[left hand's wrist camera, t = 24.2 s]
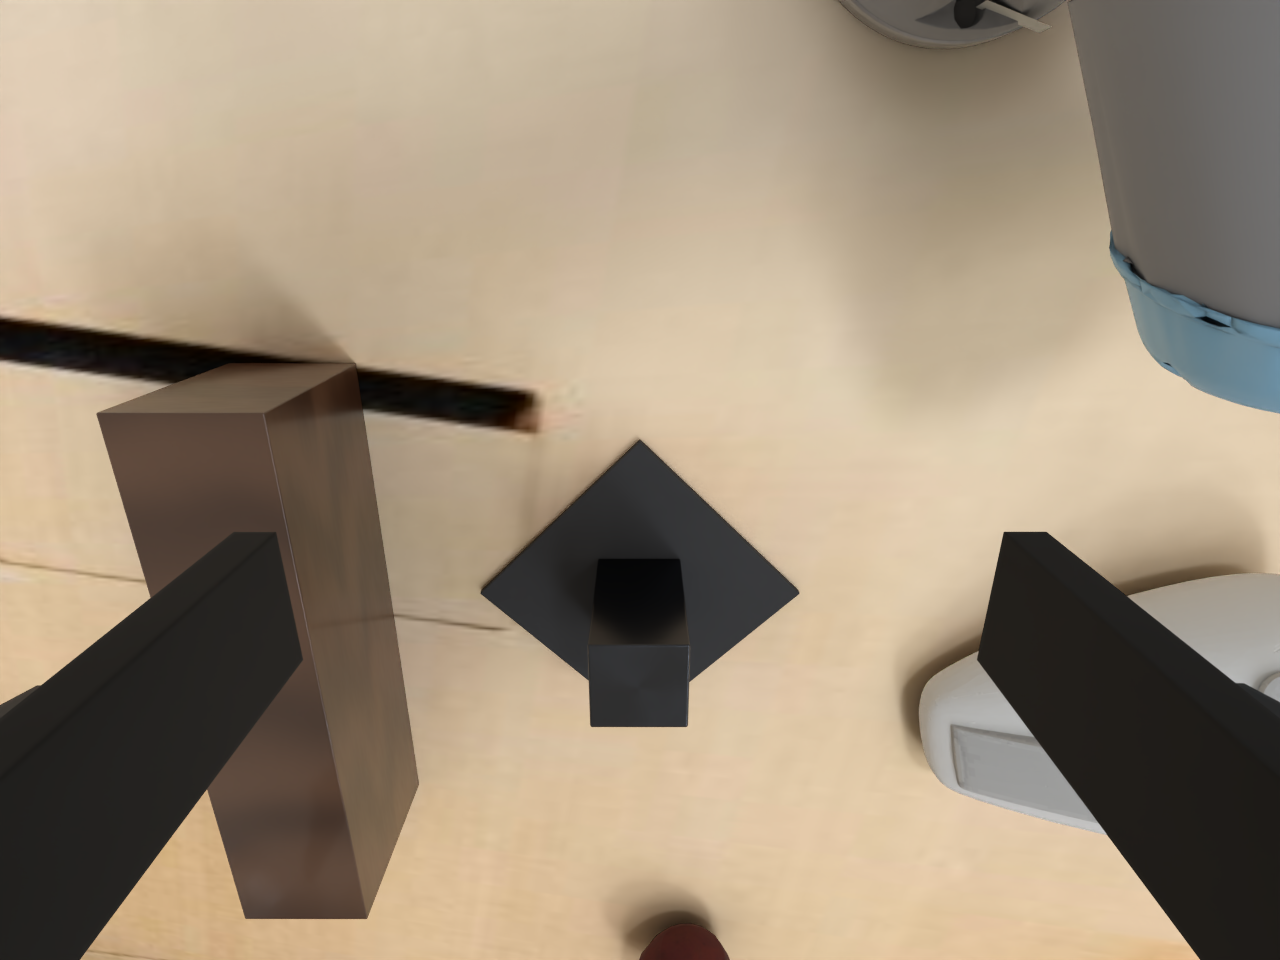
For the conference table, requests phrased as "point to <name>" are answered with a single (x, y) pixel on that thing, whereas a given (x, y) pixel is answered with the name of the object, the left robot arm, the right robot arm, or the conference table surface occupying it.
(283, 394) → the walnut case
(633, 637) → the metal block
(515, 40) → the conference table surface
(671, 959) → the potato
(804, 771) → the conference table surface
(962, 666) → the projector
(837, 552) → the conference table surface
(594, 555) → the rubber mat
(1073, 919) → the conference table surface
